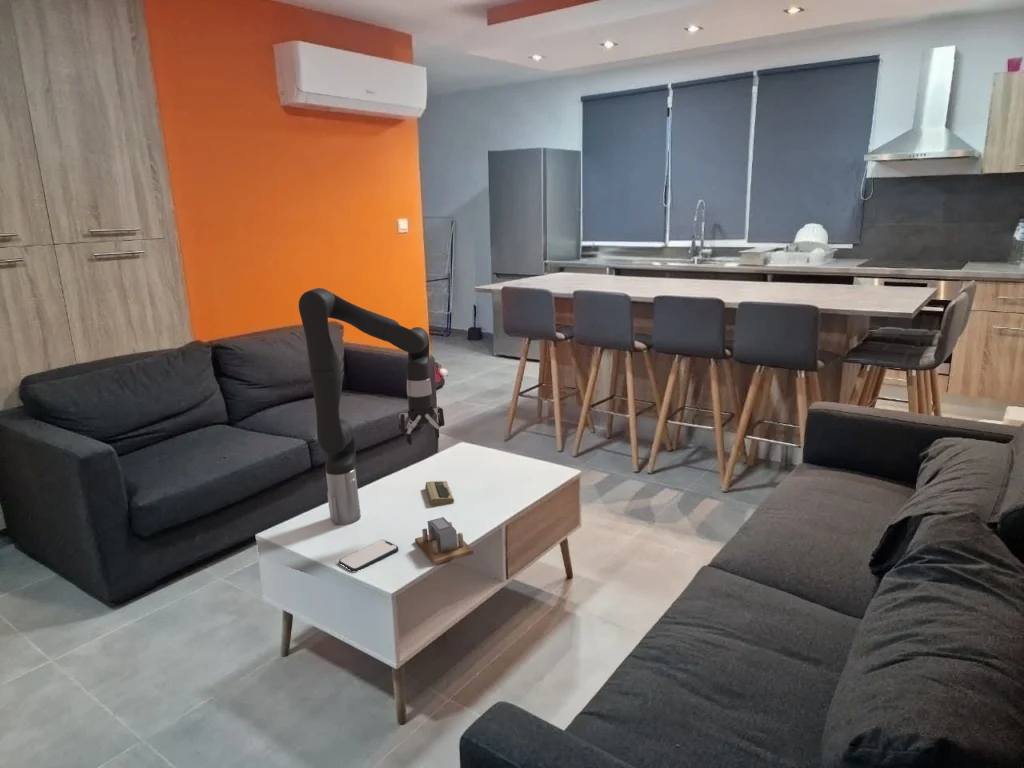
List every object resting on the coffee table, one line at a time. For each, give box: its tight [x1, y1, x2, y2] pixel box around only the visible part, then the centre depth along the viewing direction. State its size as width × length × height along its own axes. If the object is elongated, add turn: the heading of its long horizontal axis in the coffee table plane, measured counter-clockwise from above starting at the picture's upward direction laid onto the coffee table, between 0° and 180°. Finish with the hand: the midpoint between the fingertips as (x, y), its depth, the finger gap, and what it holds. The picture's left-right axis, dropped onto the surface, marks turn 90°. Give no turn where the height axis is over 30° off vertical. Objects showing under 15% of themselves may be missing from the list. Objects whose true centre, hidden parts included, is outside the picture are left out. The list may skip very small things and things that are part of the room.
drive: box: [427, 516, 458, 554], centre depth 196 cm, size 5×10×6 cm, turn 27°
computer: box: [424, 480, 455, 507], centre depth 234 cm, size 16×8×3 cm, turn 14°
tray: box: [414, 521, 474, 566], centre depth 196 cm, size 12×16×5 cm
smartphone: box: [338, 539, 399, 572], centre depth 194 cm, size 9×2×16 cm
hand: (422, 441), depth 211 cm, fingers open, 8 cm apart
